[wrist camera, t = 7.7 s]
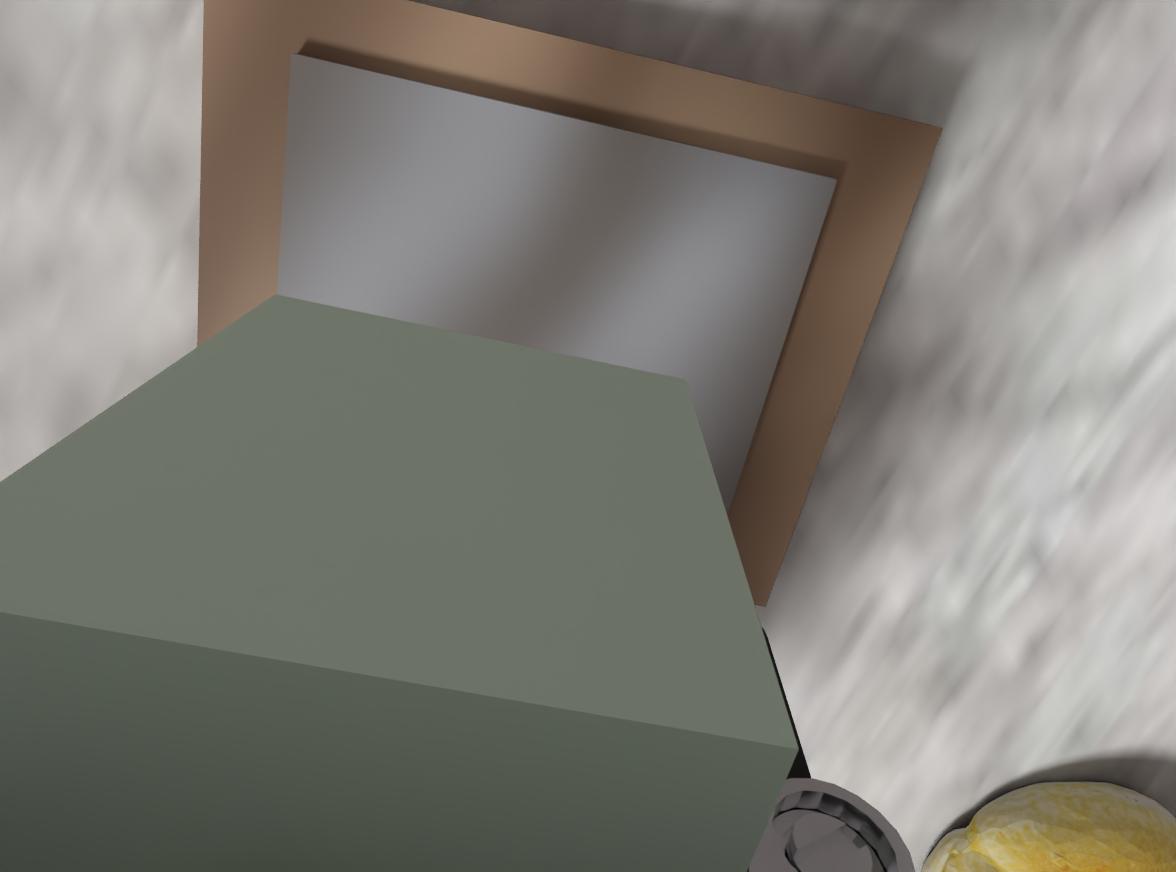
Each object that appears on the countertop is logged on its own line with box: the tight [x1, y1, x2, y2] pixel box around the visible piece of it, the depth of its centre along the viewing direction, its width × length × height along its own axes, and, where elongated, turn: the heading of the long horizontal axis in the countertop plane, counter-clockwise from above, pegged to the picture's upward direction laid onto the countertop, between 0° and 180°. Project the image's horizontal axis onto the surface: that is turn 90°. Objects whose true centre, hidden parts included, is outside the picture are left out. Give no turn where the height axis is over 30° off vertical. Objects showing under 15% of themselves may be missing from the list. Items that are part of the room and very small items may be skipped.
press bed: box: [197, 0, 943, 607], centre depth 20 cm, size 16×13×2 cm
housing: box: [0, 294, 799, 872], centre depth 8 cm, size 5×6×6 cm
